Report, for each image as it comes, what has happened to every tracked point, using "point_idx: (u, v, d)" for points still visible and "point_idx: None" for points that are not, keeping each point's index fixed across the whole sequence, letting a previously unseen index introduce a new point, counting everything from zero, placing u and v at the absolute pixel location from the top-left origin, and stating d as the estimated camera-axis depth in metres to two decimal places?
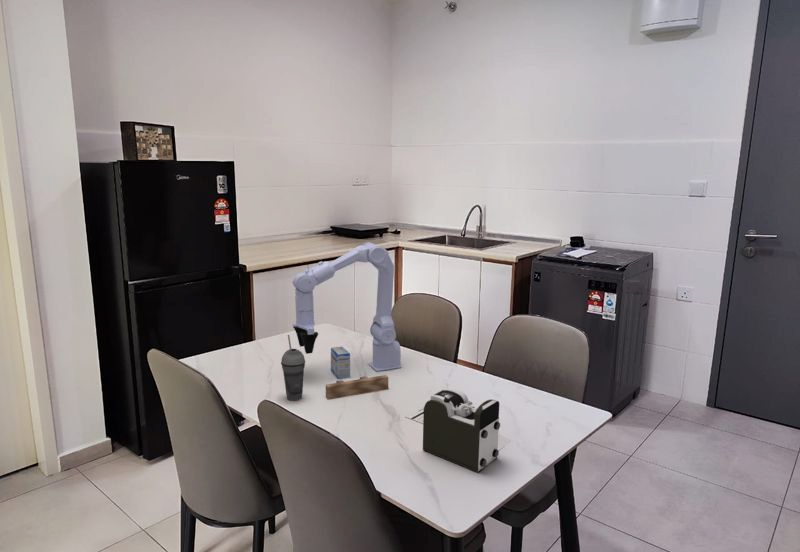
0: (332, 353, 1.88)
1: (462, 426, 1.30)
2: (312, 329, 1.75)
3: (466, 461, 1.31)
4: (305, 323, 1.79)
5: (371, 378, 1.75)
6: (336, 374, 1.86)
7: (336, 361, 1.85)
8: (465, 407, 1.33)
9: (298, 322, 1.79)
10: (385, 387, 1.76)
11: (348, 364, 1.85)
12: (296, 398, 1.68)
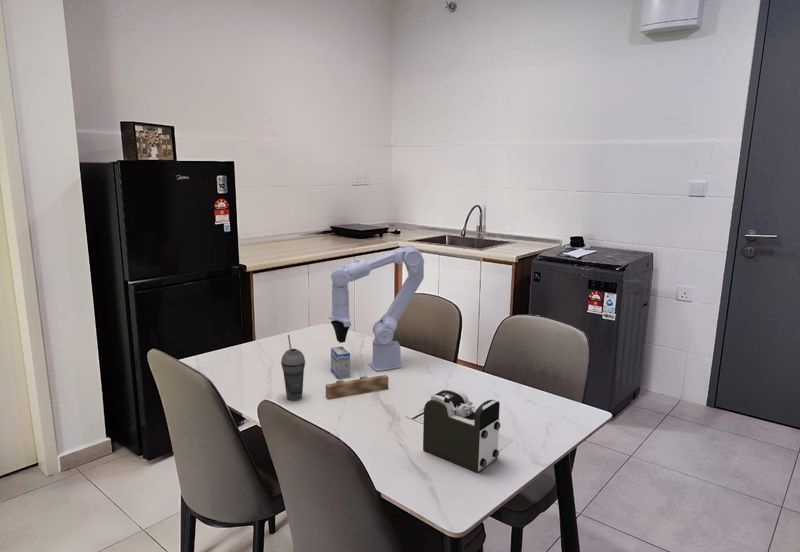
0: (332, 353, 1.88)
1: (462, 426, 1.30)
2: (348, 322, 1.84)
3: (466, 461, 1.31)
4: (341, 316, 1.88)
5: (371, 378, 1.75)
6: (336, 374, 1.86)
7: (336, 361, 1.85)
8: (465, 407, 1.33)
9: (334, 315, 1.88)
10: (385, 387, 1.76)
11: (348, 364, 1.85)
12: (296, 398, 1.68)
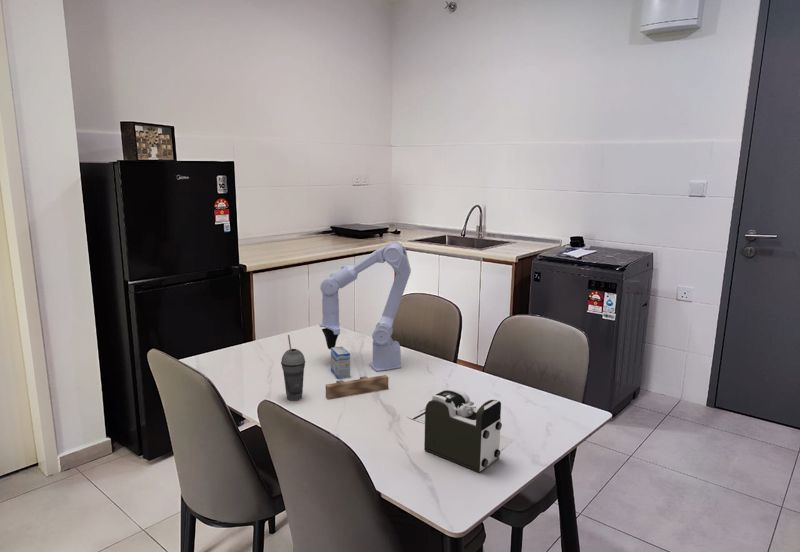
0: (332, 353, 1.88)
1: (463, 426, 1.30)
2: (338, 329, 1.89)
3: (467, 461, 1.31)
4: (331, 324, 1.92)
5: (371, 378, 1.75)
6: (336, 374, 1.86)
7: (336, 361, 1.85)
8: (467, 407, 1.33)
9: (325, 323, 1.93)
10: (385, 387, 1.76)
11: (348, 364, 1.85)
12: (296, 398, 1.68)
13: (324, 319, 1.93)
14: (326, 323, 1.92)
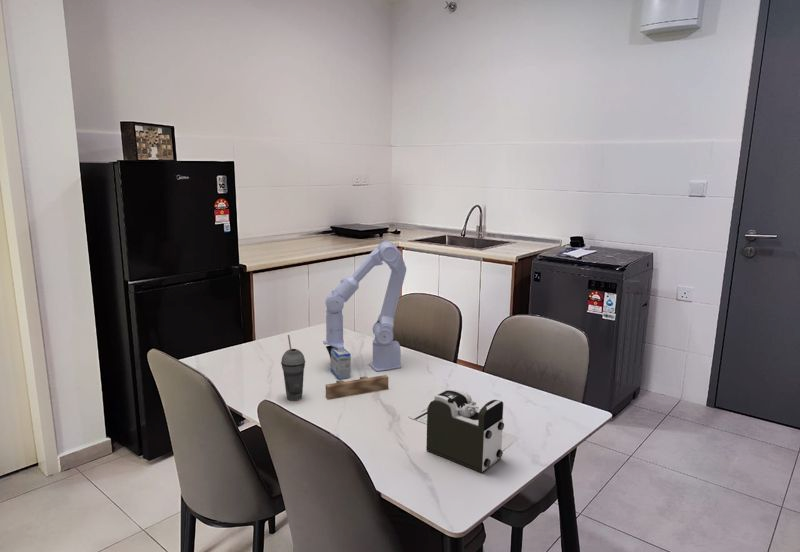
0: (332, 353, 1.88)
1: (466, 426, 1.30)
2: (342, 347, 1.86)
3: (470, 461, 1.31)
4: (335, 341, 1.89)
5: (371, 378, 1.75)
6: (336, 374, 1.85)
7: (337, 362, 1.84)
8: (469, 407, 1.33)
9: (328, 340, 1.90)
10: (385, 387, 1.76)
11: (348, 364, 1.85)
12: (296, 398, 1.68)
13: (328, 336, 1.89)
14: (330, 340, 1.89)
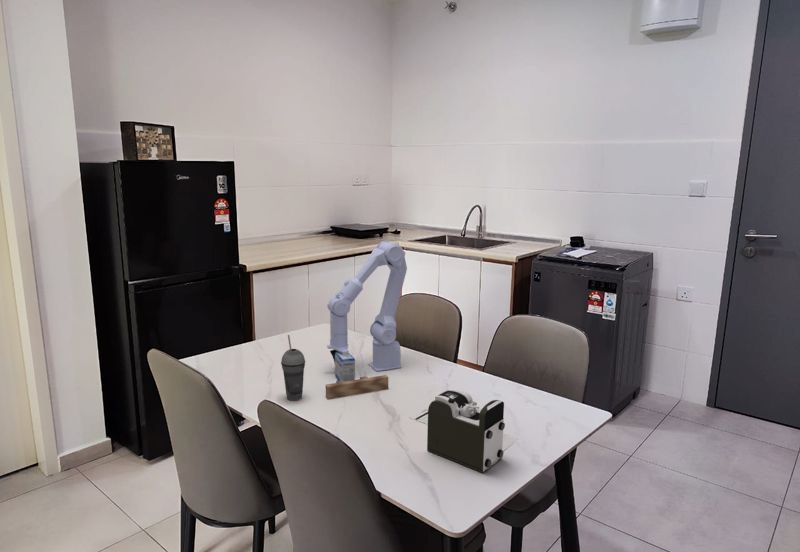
0: (336, 358, 1.84)
1: (466, 426, 1.30)
2: (347, 352, 1.81)
3: (470, 462, 1.31)
4: (339, 345, 1.85)
5: (371, 378, 1.75)
6: (340, 379, 1.81)
7: (341, 366, 1.80)
8: (470, 407, 1.33)
9: (333, 344, 1.85)
10: (385, 387, 1.76)
11: (353, 369, 1.81)
12: (296, 398, 1.68)
13: (332, 340, 1.85)
14: (334, 344, 1.85)
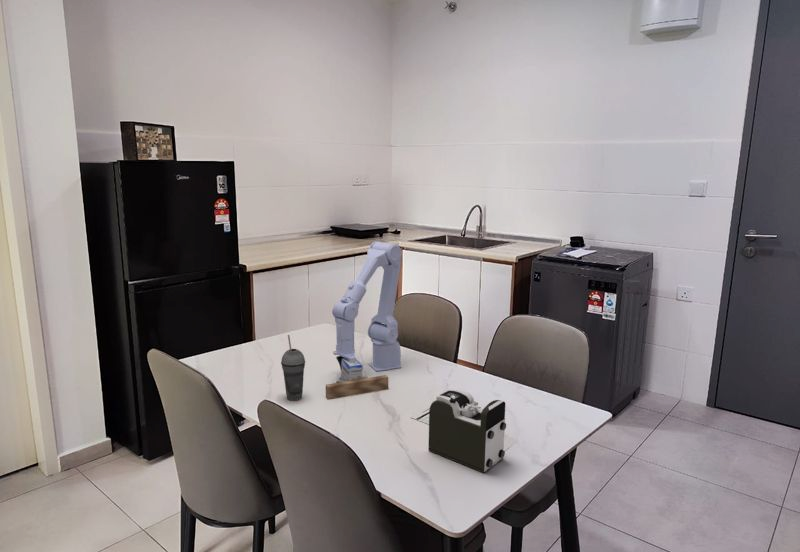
0: (343, 364, 1.78)
1: (468, 426, 1.30)
2: (354, 358, 1.75)
3: (472, 462, 1.31)
4: (346, 351, 1.79)
5: (371, 378, 1.75)
6: None
7: (348, 373, 1.74)
8: (471, 408, 1.33)
9: (339, 350, 1.79)
10: (385, 387, 1.76)
11: (360, 376, 1.75)
12: (296, 398, 1.68)
13: (338, 346, 1.79)
14: (341, 351, 1.79)
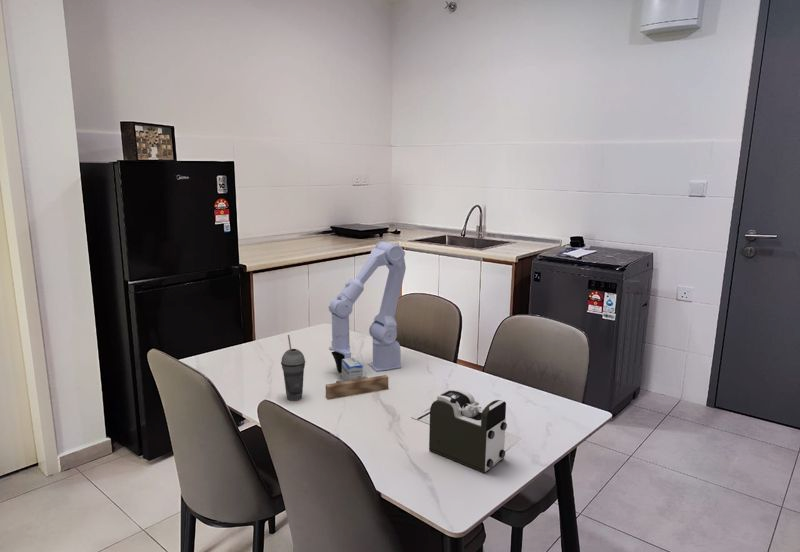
0: (343, 365, 1.77)
1: (468, 426, 1.30)
2: (349, 353, 1.80)
3: (472, 462, 1.31)
4: (341, 347, 1.83)
5: (371, 378, 1.75)
6: None
7: (348, 374, 1.74)
8: (472, 408, 1.33)
9: (335, 346, 1.84)
10: (385, 387, 1.76)
11: (360, 377, 1.74)
12: (296, 398, 1.68)
13: (334, 342, 1.84)
14: (336, 346, 1.84)
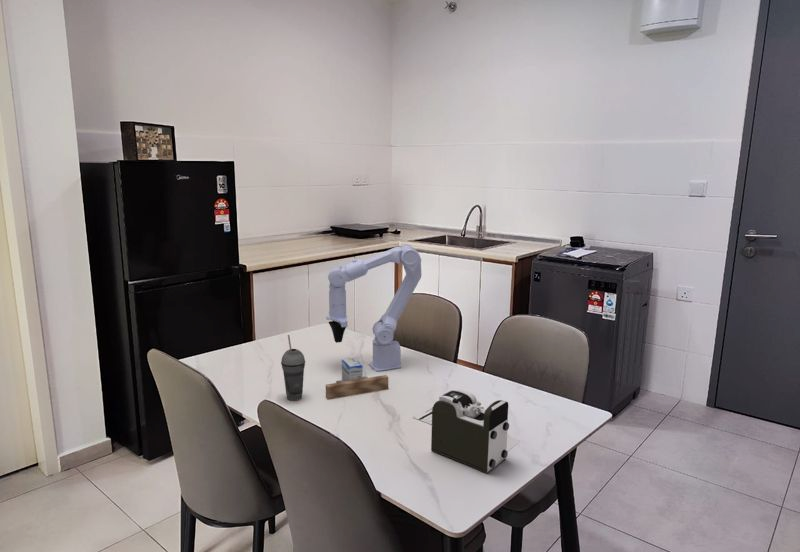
0: (343, 365, 1.77)
1: (471, 426, 1.30)
2: (345, 322, 1.84)
3: (475, 462, 1.30)
4: (338, 316, 1.87)
5: (371, 378, 1.75)
6: None
7: (348, 374, 1.74)
8: (474, 408, 1.33)
9: (331, 315, 1.88)
10: (385, 387, 1.76)
11: (360, 377, 1.74)
12: (296, 398, 1.68)
13: (331, 311, 1.88)
14: (333, 315, 1.87)
